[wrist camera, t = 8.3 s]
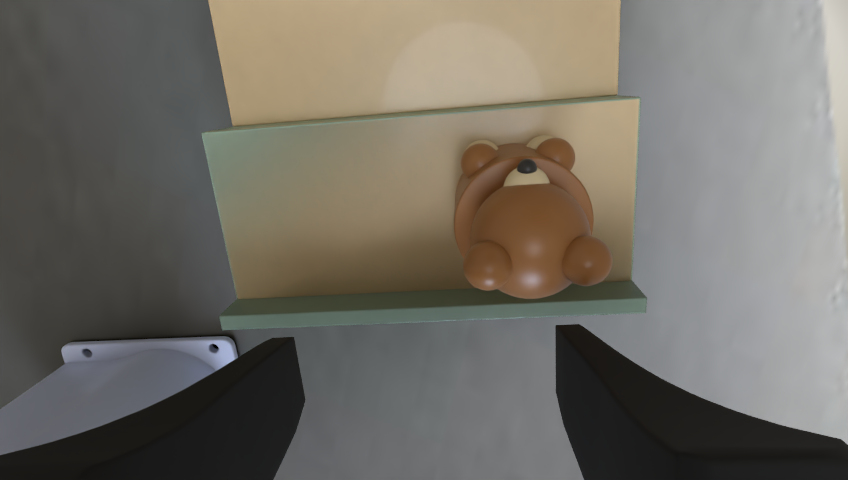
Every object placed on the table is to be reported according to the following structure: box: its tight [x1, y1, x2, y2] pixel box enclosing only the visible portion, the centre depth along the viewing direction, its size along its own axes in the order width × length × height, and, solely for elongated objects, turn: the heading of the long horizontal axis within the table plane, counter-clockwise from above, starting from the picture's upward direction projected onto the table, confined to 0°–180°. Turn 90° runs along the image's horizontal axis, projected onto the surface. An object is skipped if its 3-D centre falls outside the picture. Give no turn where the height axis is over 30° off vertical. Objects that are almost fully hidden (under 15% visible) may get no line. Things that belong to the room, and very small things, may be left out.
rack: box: [202, 0, 647, 330], centre depth 18 cm, size 15×14×6 cm
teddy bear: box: [454, 135, 612, 299], centre depth 14 cm, size 4×4×6 cm
